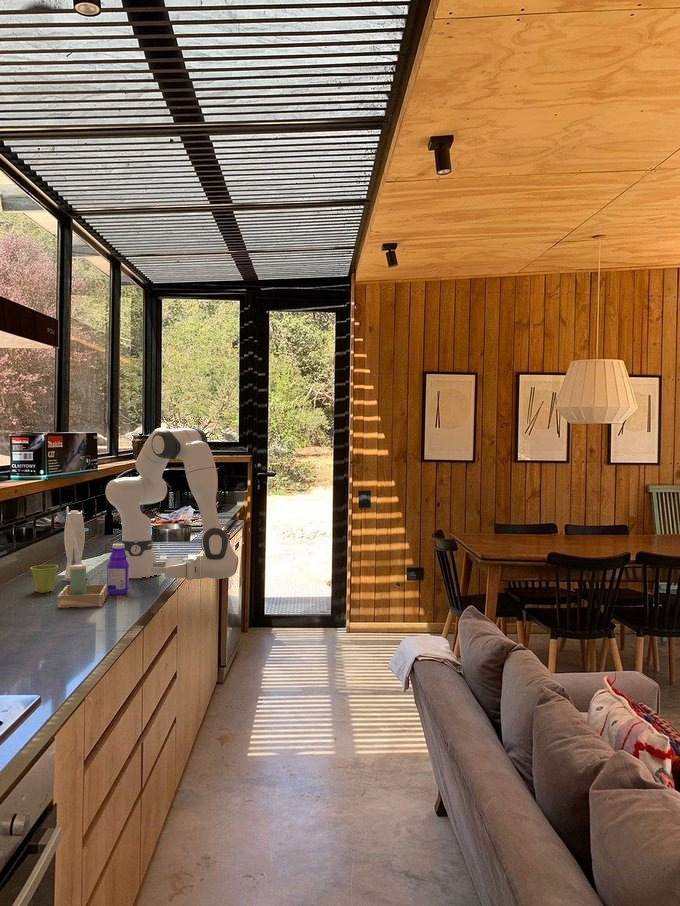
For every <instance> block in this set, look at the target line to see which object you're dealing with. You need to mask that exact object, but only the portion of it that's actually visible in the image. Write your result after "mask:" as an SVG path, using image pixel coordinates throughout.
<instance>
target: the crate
mask: <svg viewBox="0 0 680 906" xmlns="http://www.w3.org/2000/svg"><path fill="white" fill-rule="evenodd" d="M86 586H87V594H84V595H71V590H70V584H67V585H66V584H65V586H64V588H63V589H62V590H61V591H60V592H59V593H58V594H57V609H70V608H69V607H79V608H100V607H101V608H102V607H103V605H104V604H105V602H106V600H107V598H106V597H108V596H107V595H109V593H108V584H107V583H105V584H102V583H99V584H97V583H95V584H86ZM105 599H106V600H105ZM104 601H105V602H104ZM103 603H104V604H103Z"/></svg>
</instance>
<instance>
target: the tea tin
mask: <svg viewBox="0 0 680 906" xmlns="http://www.w3.org/2000/svg"><path fill="white" fill-rule="evenodd" d="M86 578H87V564H82V565H72V566H70V582H69V583H70V584H69V585H70V590H71V595H84V594H87V586H86V585H87V580H86Z"/></svg>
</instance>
